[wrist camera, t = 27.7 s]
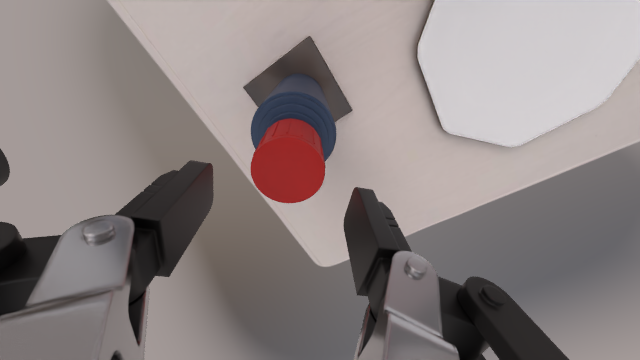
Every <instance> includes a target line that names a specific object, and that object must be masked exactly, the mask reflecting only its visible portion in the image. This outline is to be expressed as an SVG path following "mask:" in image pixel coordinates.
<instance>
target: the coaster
mask: <svg viewBox="0 0 640 360" xmlns="http://www.w3.org/2000/svg"><path fill="white" fill-rule="evenodd" d="M292 74H305V75H308V76H310V77H312V78H313V79H315V80H316V81H317V82H318V83H319V85H320V86H321V88H322V90H323V93H324V95H325V98H326V101H327V103H328V106H329V109H330V112H331V114H332V117H333V120H334V122H335V121H337V120H338V119H340V118H341V117H343V116H344V115H346V114H348V113H349V112H351V111H352V109H351V107H350V105H349V103H348V102H347V100H346V98H345V96H344V95H343V93H342V91H341V89H340V88H339V86H338V84H337V82H336V81H335V79H334V77H333V75H332V74H331V72H330V70H329V68H328V67H327V65H326V63H325V61H324V60H323V58H322V56H321V54H320V53H319V51H318V49H317V47H316V46H315V44H314V42H313V40H312V38H311V37H310V36H309V37H307V38H306V39H305V40H304V41H302V42H301V43H300V44H298V45H297V46H296V47H295V48H293V49H292V50H291V51H289V52H288V53H287V54H286V55H284V56H283V57H282V58H280V59H279V60H278V61H277V62H275V63H274V64H273V65H271V66H270V67H269V68H268V69H266V70H265V71H264V72H262V73H261V74H260V75H259V76H257V77H256V78H255V79H253V80H252V81H251V82H250V83H248V84H247V85H246V86H244V87H243V88H244V89H245V90H246V92H247V93H248V94H249V96H250V97H251V98H252V100H253V101H254V102H255V103H256V105H257V106H258V107H259V106H260V105H261V104H262V103H263V102H264V101H265V99H266V98H267V97H268V96H269V95H270V94H271V92H272V91H273V90H274V89H275V88H276V87H277V86H278V84H279V83H280V82H281V81H282V80H283V79H284V78H286V77H287V76H289V75H292Z"/></svg>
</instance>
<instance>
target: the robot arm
mask: <svg viewBox="0 0 640 360" xmlns="http://www.w3.org/2000/svg"><path fill="white" fill-rule="evenodd" d="M212 203H213V167H212V164H211V163H204V162H198V161H189V162H188V163H187V164H186V165H185V166H183V167H182V168H181V169H180V170H179V171H176V170H173V171H171V172H168V173H166V174H164V175H161V176H160V177H158V178H157V179H156V180H155V181H154V182H153V183H152V184H151V185H149V186H148V187H147V188H146V189H144V192H141V193H140V194H139V195H137V196H136V197H135V198H134V199H133V200H131V201H130V202H129V203H128V204H127V205H126V206H124V208H122V209H121V210H120V211H119V212H117V213H116V214H115V215H104V216H98V217H93V218H90V219H87V220H84V221H82V222H80V223H77V224H75V225H74V226H72V227H70V228H69V229H68V230H66V231H65V232H64V233H63V234H62V235H58V236H47V237H35V238H24V239H22V237H21V235H20V234H19V232H18V230H17V229H16V227H15V226H14V225H12V224H9V223H5V222H0V360H144V348H145V337H146V326H147V315H148V302H149V286H148V285H149V284H150V282H151V281H152V280H153V278H154V277H155V276H164V277H169V276H170V274H171V273H172V271H173V270H174V268H175V266H176V264H177V263H178V261H179V260H180V258H181V257H182V255H183V253H184V251H185V250H186V248H187V247H188V245H189V244H190V242H191V240H192V238H193V237H194V235H195V234H196V232H197V231H198V229H199V227H200V226H201V224H202V222H203V221H204V219H205V218H206V216H207V214H208V213H209V211H210V209H211V206H212ZM344 232H345V237H346V242H347V247H348V252H349V257H350V262H351V267H352V272H353V277H354V282H355V287H356V292H357V295H362V296H368V299H369V305H368V307H367V309H366V313H365V317H364V320H363V324H362V328H361V332H360V336H359V340H358V344H357V348H356V353H355V356H354V360H486V359H485V358H484V356H483V355H482V353H483V352H484V351H485V350H486V349H487V348H488V347H491V348H492V350H493V351H494V353H495V354H496V355H497V357H498V358H499V360H569V359H568V358H567V357H566V356H565V355H564V354H563V352H562V351H561V350H560V349H559V348H558V347H557V346H556V345H555V344H554V343H553V342H552V341H551V340H550V339H549V338H548V337H547V336H546V334H545V333H544V332H543V331H542V330H541V329H540V328H539V327H538V326H537V325H536V324H535V323H534V322H533V321H532V320H531V318H529V316H528V315H527V314H526V313H525V312H524V311H523V310H522V309H521V308H520V307H519V306H518V305H517V303H516V302H515V301H514V300H513V299H512V298H511V297H510V296H509V295H508V294H507V293H506V292H505V291H504V290H502V289H501V288H500V287H498V286H497V285H495V284H494V283H492V282H490V281H488V280H486V279H484V278H480V277H470V278H468V279H467V280H466V282H465V283H464V284H463V285H459V284H457V283H454V282H451V281H449V280H446V279H443V278H441V277H438V275H437V272H436V270H435V269H434V267H433V266H432V265H431V264H430V263H429V262H428V261H427V260H425V259H424V258H423V257H421V256H420V255H418V254H416V253H413V252H412V251H411V249H410V247H409V245H408V243H407V241H406V239H405V237H404V235H403V234H402V232H401V230H400V228H398V224H397V222H396V221H395V218H394V216H393V214H392V212H391V210H390V209H389V208H388V207H387V206H386V205H385V204H383V203H382V202H378V200H377V198H376V196H375V193H374V191H373V190H371V189H364V188H358V187H355V188H354V190H353V192H352V196H351V199H350V202H349V205H348V208H347V211H346V214H345V218H344Z"/></svg>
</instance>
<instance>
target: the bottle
mask: <svg viewBox="0 0 640 360" xmlns="http://www.w3.org/2000/svg"><path fill="white" fill-rule="evenodd" d="M290 118H291V119H298V120H302V121H304V122H306V123H308V124H309V125H311V126H312V127H313V128H314V129H315V131H316V132H317V133H318V135H319V137H320V138H321V144H322V148H323V155H324V161H326V160H327V159H328V157H329V156H330V154H331V153H332V151H333V148H334V145H335V141H336V127H335V122H334V120H333V117H332V114H331V112H330V109H329V106H328V103H327V101H326V98H325V95H324V93H323V90H322V88H321V86H320V85H319V83H318V82H317V81H316V80H315V79H313V78H312V77H310V76H308V75H305V74H292V75H289V76H287V77H286V78H284V79H283V80H282V81H281V82H280V83H279V84H278V86H277V87H276V88H275V89H274V90H273V91H272V92H271V94H270V95H269V96H268V97H267V98H266V99H265V101H264V102H263V103H262V104H261V105H260V106H259V108H258V109H257V111H256V112H255V115H254V117H253V120H252V124H251V137H252V142H253V145H254V147H255V149H257V147H258V145H259V143H260V141H261V139H262V137H264V135H265V133H266V131H267V129H268V127H270V126H272V125H273V124H274V123H276V122H277V121H280V120H283V119H290Z"/></svg>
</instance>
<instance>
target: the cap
mask: <svg viewBox="0 0 640 360" xmlns="http://www.w3.org/2000/svg"><path fill="white" fill-rule="evenodd" d="M251 176H252V179H253V181H254V183H255V185H256V187H257V188H258V189H259V190H260V191H261V192H262V193H263V194H264V195H265V196H267V197H269V198H270V199H272V200H275V201H278V202H282V203H296V202H301V201H304V200H306V199H308V198H310V197H311V196H313V195H314V194H315V193H316V192H317V191H318V190H319V188H320V187H321V185H322V183H323V180H324V176H325V161H324V155H323V148H322V144H321V138H320V137H319V135H318V133H317V132H316V131H315V129H314V128H313V127H312V126H311V125H309V124H308V123H306V122H304V121H302V120H298V119H291V118H290V119H283V120H280V121H277V122H276V123H274V124H273V125H272V126H270V127H268V129H267V131H266V133H265V135H264V137H262V139H261V141H260V143H259V145H258V147H257V149H256V150H255V152H254V154H253V159H252V162H251Z"/></svg>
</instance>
